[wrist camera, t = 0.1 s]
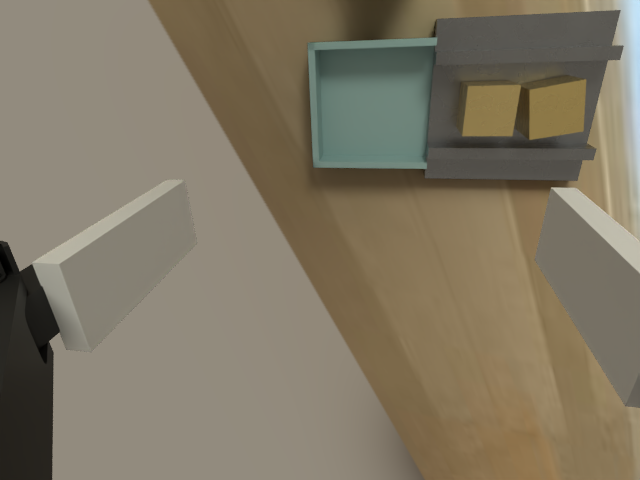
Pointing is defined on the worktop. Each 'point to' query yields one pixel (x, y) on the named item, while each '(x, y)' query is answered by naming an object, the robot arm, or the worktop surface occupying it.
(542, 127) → the wooden cube
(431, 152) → the slot board
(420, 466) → the worktop surface
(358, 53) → the tray
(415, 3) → the worktop surface
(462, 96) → the wooden block
